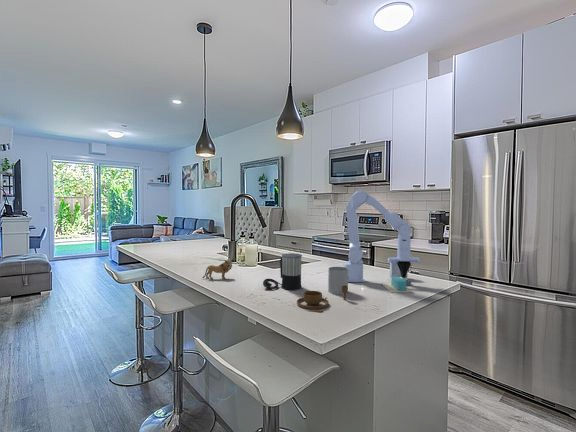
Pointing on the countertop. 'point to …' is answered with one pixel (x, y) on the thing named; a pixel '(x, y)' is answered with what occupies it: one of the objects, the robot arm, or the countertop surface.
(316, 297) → the place setting
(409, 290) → the kraft paper
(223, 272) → the lion figurine
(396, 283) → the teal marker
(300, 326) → the countertop surface
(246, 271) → the countertop surface
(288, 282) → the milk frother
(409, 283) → the button housing
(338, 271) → the cup
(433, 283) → the countertop surface
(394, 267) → the medicine box
